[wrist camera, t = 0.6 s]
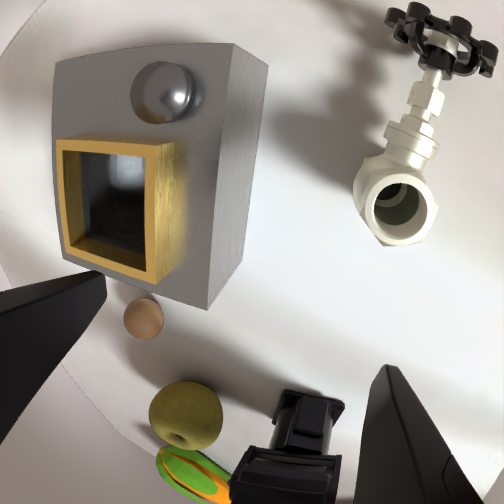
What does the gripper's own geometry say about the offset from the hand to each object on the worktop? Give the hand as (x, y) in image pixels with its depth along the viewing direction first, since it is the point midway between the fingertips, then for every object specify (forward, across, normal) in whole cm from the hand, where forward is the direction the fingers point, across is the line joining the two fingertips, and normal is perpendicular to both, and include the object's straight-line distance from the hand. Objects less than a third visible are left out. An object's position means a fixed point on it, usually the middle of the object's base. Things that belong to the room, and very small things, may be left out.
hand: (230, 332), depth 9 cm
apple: (+14, +6, +23) cm, 28 cm away
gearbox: (+13, +9, -2) cm, 16 cm away
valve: (+14, -5, -7) cm, 16 cm away
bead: (+14, +11, +13) cm, 22 cm away
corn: (+14, +3, +46) cm, 48 cm away
